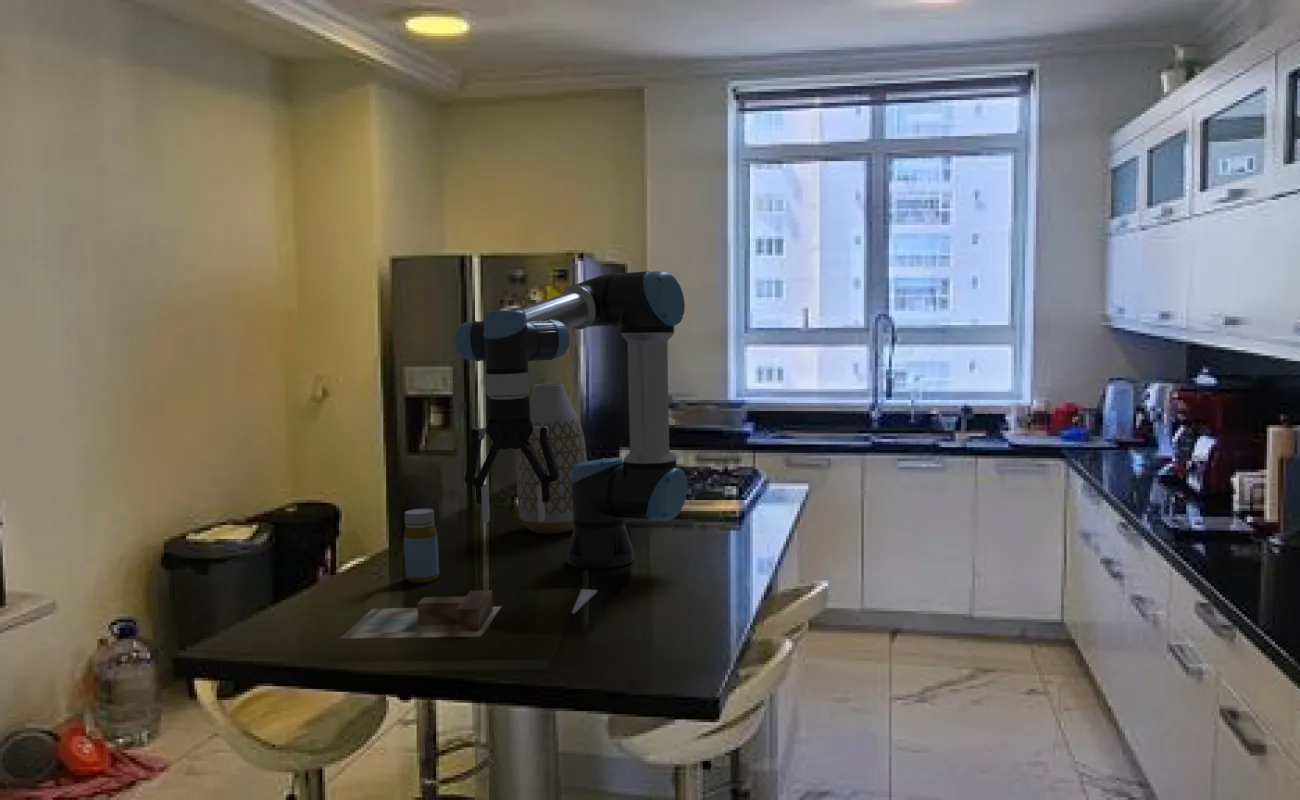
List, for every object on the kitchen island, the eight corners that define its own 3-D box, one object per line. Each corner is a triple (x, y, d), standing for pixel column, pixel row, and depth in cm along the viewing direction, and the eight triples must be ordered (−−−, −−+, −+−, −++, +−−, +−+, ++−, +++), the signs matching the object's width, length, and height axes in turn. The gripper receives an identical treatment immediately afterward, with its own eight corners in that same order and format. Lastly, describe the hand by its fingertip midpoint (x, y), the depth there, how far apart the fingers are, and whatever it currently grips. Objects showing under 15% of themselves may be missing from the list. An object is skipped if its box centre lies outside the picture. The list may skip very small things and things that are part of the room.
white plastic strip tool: (548, 615, 198) (548, 609, 198) (574, 594, 213) (573, 588, 213) (573, 615, 197) (573, 609, 197) (597, 594, 211) (597, 589, 211)
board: (501, 612, 199) (501, 606, 199) (481, 642, 181) (481, 636, 181) (372, 614, 201) (372, 608, 201) (340, 645, 183) (339, 638, 183)
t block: (493, 611, 196) (491, 590, 196) (479, 630, 184) (478, 608, 184) (430, 612, 197) (428, 591, 197) (412, 632, 185) (410, 609, 185)
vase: (529, 521, 284) (522, 382, 281) (596, 521, 281) (590, 381, 278) (510, 537, 266) (503, 388, 262) (582, 537, 263) (576, 386, 260)
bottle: (431, 584, 222) (427, 514, 221) (400, 583, 223) (397, 514, 222) (444, 575, 229) (440, 508, 227) (414, 575, 230) (410, 508, 229)
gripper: (572, 393, 189) (577, 515, 191) (452, 396, 191) (458, 517, 193) (566, 396, 182) (572, 523, 184) (442, 400, 183) (448, 526, 185)
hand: (514, 520), depth 188 cm, fingers open, 9 cm apart
